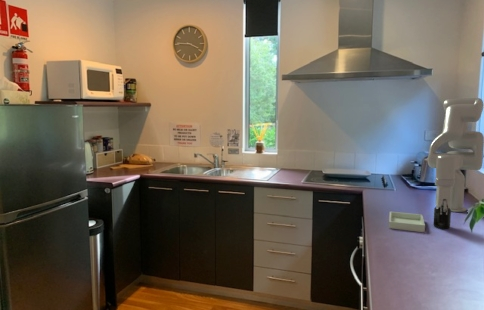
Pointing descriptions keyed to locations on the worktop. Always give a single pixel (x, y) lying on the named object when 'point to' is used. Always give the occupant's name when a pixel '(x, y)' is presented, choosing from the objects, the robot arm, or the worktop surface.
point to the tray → (406, 221)
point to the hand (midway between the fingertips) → (441, 220)
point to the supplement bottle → (436, 219)
